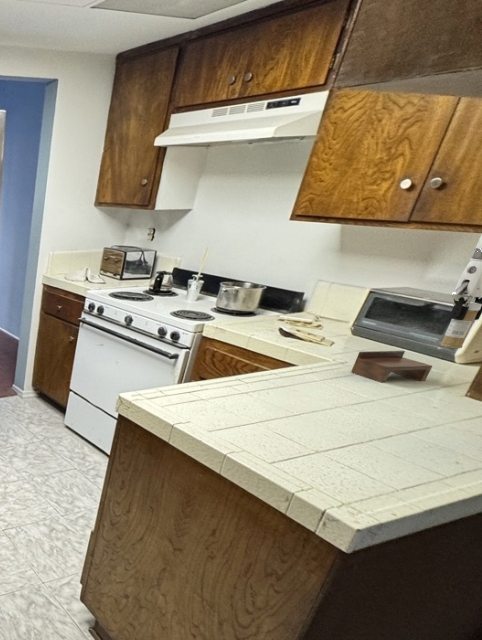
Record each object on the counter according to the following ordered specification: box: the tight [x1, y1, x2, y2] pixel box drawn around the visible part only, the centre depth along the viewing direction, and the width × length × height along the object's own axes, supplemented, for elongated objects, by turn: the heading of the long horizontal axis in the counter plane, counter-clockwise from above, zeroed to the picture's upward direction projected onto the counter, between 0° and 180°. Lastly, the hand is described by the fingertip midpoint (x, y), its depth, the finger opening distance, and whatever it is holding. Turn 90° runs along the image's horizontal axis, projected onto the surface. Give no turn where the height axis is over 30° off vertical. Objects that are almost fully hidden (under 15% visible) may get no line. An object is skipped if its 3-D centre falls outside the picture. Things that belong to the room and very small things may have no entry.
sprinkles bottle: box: [440, 301, 482, 349], centre depth 140 cm, size 5×5×14 cm
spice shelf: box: [350, 350, 433, 383], centre depth 146 cm, size 9×16×7 cm, turn 98°
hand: (463, 318), depth 139 cm, fingers closed on sprinkles bottle, 4 cm apart
